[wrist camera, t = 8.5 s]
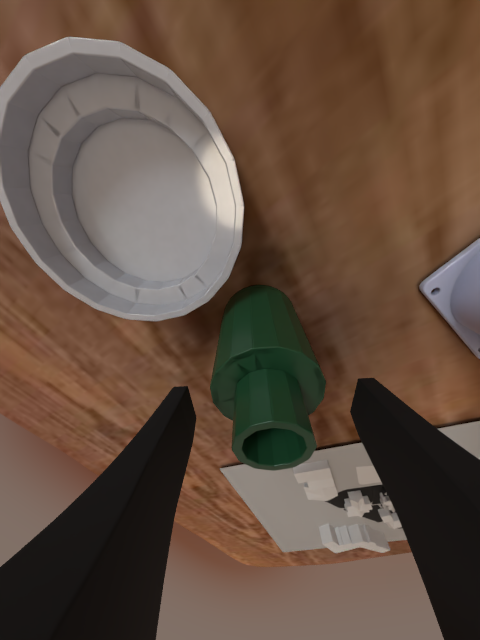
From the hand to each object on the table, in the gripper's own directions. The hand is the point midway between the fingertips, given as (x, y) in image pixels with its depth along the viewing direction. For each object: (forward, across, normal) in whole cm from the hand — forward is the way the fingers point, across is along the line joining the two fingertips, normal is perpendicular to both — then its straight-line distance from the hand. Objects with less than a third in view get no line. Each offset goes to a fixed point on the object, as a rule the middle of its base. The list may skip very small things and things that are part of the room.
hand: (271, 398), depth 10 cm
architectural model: (+8, -15, +29) cm, 33 cm away
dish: (+7, +6, -7) cm, 12 cm away
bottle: (+7, 0, 0) cm, 7 cm away
